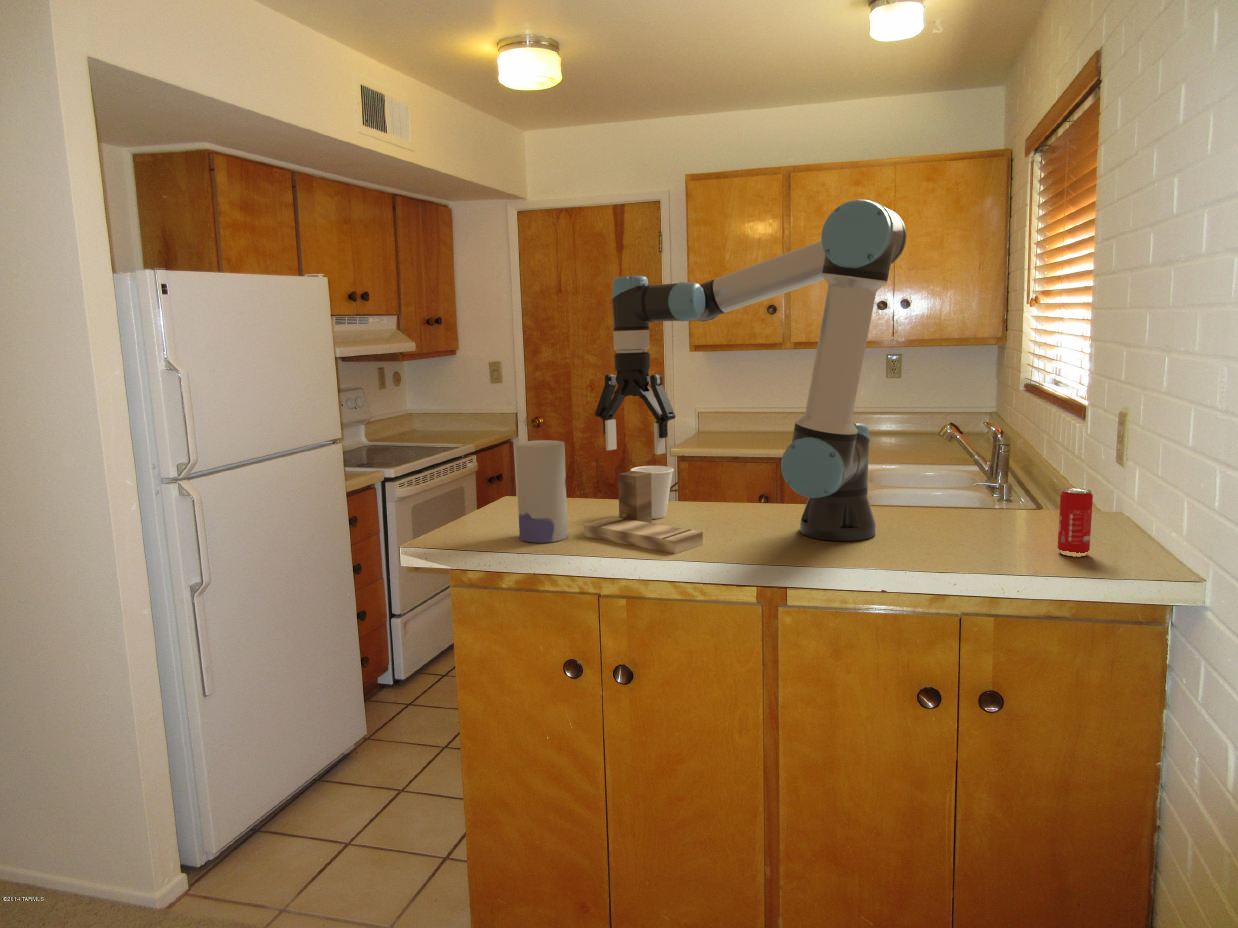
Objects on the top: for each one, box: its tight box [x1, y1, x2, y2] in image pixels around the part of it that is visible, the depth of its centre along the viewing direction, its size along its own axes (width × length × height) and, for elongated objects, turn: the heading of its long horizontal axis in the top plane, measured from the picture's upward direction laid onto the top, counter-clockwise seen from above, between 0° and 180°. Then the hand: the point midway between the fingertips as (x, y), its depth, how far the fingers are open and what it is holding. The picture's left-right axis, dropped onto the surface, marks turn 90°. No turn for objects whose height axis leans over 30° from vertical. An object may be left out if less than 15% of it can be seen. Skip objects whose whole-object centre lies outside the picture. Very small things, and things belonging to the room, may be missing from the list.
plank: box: [583, 516, 704, 555], centre depth 174 cm, size 24×9×3 cm, turn 49°
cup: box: [629, 465, 675, 520], centre depth 195 cm, size 10×10×11 cm
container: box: [515, 439, 568, 544], centre depth 176 cm, size 10×10×20 cm
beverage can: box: [1057, 487, 1094, 553], centre depth 156 cm, size 5×5×12 cm
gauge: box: [617, 471, 653, 523], centre depth 183 cm, size 5×6×12 cm
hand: (635, 451), depth 182 cm, fingers open, 13 cm apart
